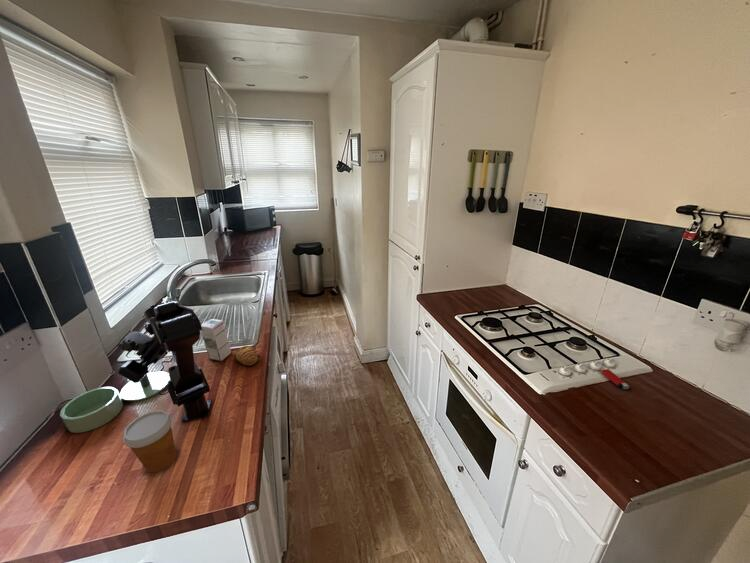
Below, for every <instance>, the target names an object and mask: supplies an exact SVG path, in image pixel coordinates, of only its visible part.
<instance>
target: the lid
mask: <svg viewBox="0 0 750 563" xmlns="http://www.w3.org/2000/svg"><path fill="white" fill-rule="evenodd" d="M169 380H170V378H169V372H166V371H151V372H148V373H147V374H146V375H145V376H144V377H143V378H142V379H141V380H140V381H139V382H138V383H134V382H132V381H130V380H129V382H127V383H126V384H125V385H124V386H123V387H122V388H121V389H120V391H119V394H120V396H121V399H122V401H126V402H136V401H138V402H139V401H141V400H145V399H148V398H150V397H153V396H154V395H157V394H159V393H160V392H162V391H163V390H164V389H166V388H167V386H168V381H169Z"/></svg>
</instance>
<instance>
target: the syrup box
mask: <svg viewBox="0 0 750 563" xmlns="http://www.w3.org/2000/svg"><path fill="white" fill-rule="evenodd" d="M201 326H202V330H200V333H201V335H202V339H203V343H204V346H205V350H206V353H207V357H208V359H209V360H213V361H219V362H222V361H223V360H225V359H226V358H227V357H228V356H229V355H230V354H231V353H232V349H231V346H230V342H229V338H228V334H227V331H226V326H225V322H224V320H223V319H216V318H210V319H208V320H206V321H204V322H203V323H201Z"/></svg>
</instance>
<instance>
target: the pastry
mask: <svg viewBox="0 0 750 563" xmlns="http://www.w3.org/2000/svg"><path fill="white" fill-rule="evenodd" d="M235 358H236V360H237V362H239V363H240V364H242V365H244V366H252V365H254V364H256V363H257V362H258V360H259V357H258V352H257V350H255V348H254V347H252V346H249V345H244V346H241V347H240V348H239V349H238V350H237V351H236V353H235Z"/></svg>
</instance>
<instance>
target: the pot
mask: <svg viewBox="0 0 750 563" xmlns="http://www.w3.org/2000/svg"><path fill="white" fill-rule="evenodd" d="M123 402H124V400H123V399H122V398H121V396H120V391H119V390H118V389H117V388H115V387H114V386H102V387H96V388H94V389H93V388H92V389H91V390H88V391H86V392H85V391H84V392H83V393H80V394H79V395H77V396H75V397H74V398H72V399H71V400H70V401H68V402H67V403H65V404H64V406H63V407H62V408H61V409H60V412H59V417H60V419H61V420H62V422H63V424H64V426H65V428H66V429H67V430H68V431H69V432H70V433H75V434H78V433H79V434H80V433H85V432H90V431H92V430H95V429H97V428H100V427H102V426H104V425H106V424H107V423H108V422H109V423H110V421H112V420H113V419H115V418H116V417H117V416H118V415H119V414H120V413H121V411H122V410H123V408H124V403H123Z"/></svg>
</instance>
